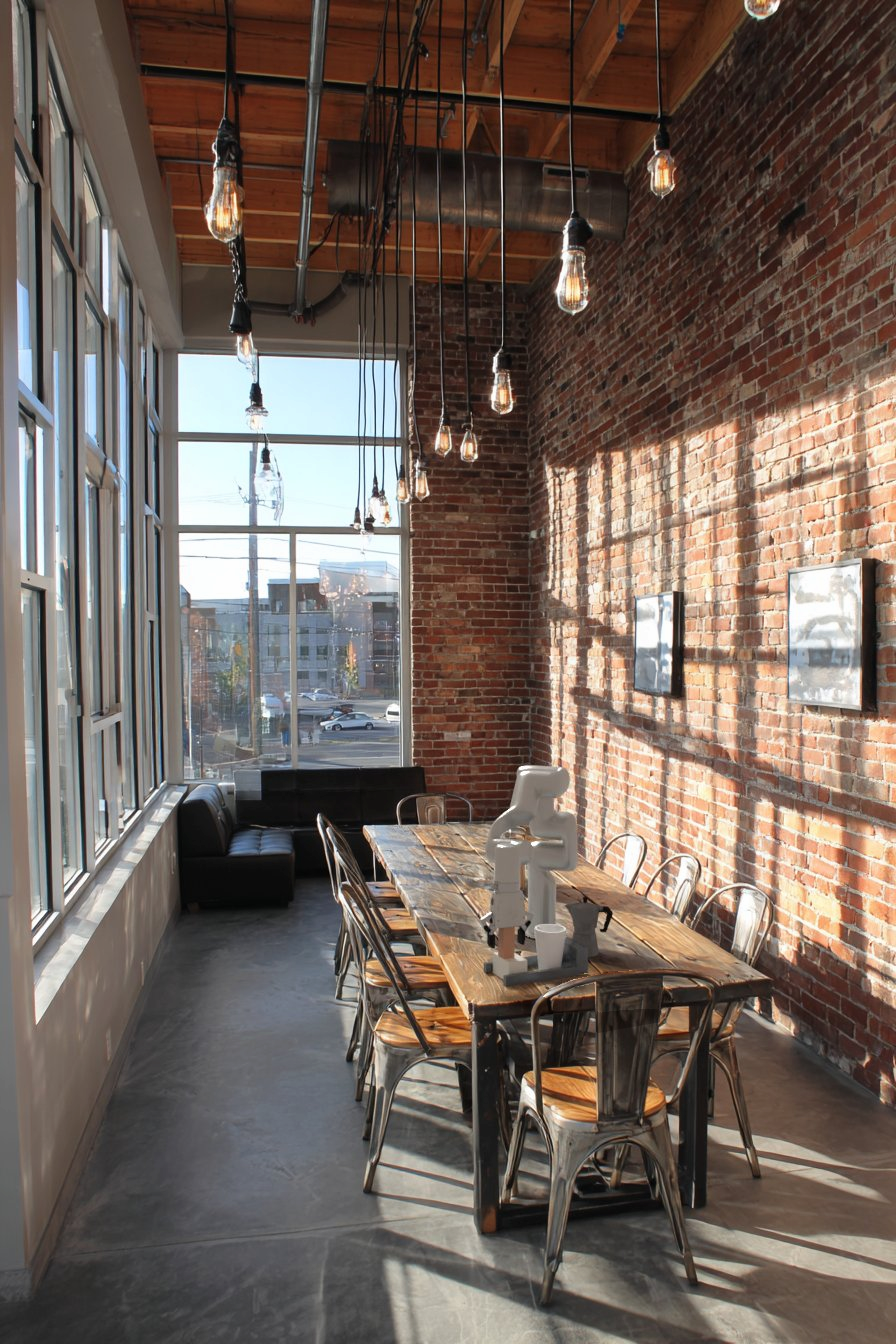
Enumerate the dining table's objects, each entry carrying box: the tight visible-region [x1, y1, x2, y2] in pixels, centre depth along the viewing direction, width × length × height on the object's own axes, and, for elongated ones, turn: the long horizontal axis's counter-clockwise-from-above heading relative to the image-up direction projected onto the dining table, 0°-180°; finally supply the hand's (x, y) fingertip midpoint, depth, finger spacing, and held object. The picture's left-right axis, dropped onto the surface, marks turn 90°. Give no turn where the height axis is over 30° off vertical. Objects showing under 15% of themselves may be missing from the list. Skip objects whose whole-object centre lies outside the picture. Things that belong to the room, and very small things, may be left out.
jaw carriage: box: [492, 927, 528, 980], centre depth 276 cm, size 10×6×18 cm, turn 25°
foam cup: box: [534, 924, 567, 970], centre depth 281 cm, size 10×9×13 cm
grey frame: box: [483, 935, 589, 987], centre depth 279 cm, size 14×28×8 cm, turn 115°
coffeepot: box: [564, 896, 614, 958], centre depth 300 cm, size 15×9×18 cm, turn 69°
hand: (506, 945), depth 275 cm, fingers open, 9 cm apart
